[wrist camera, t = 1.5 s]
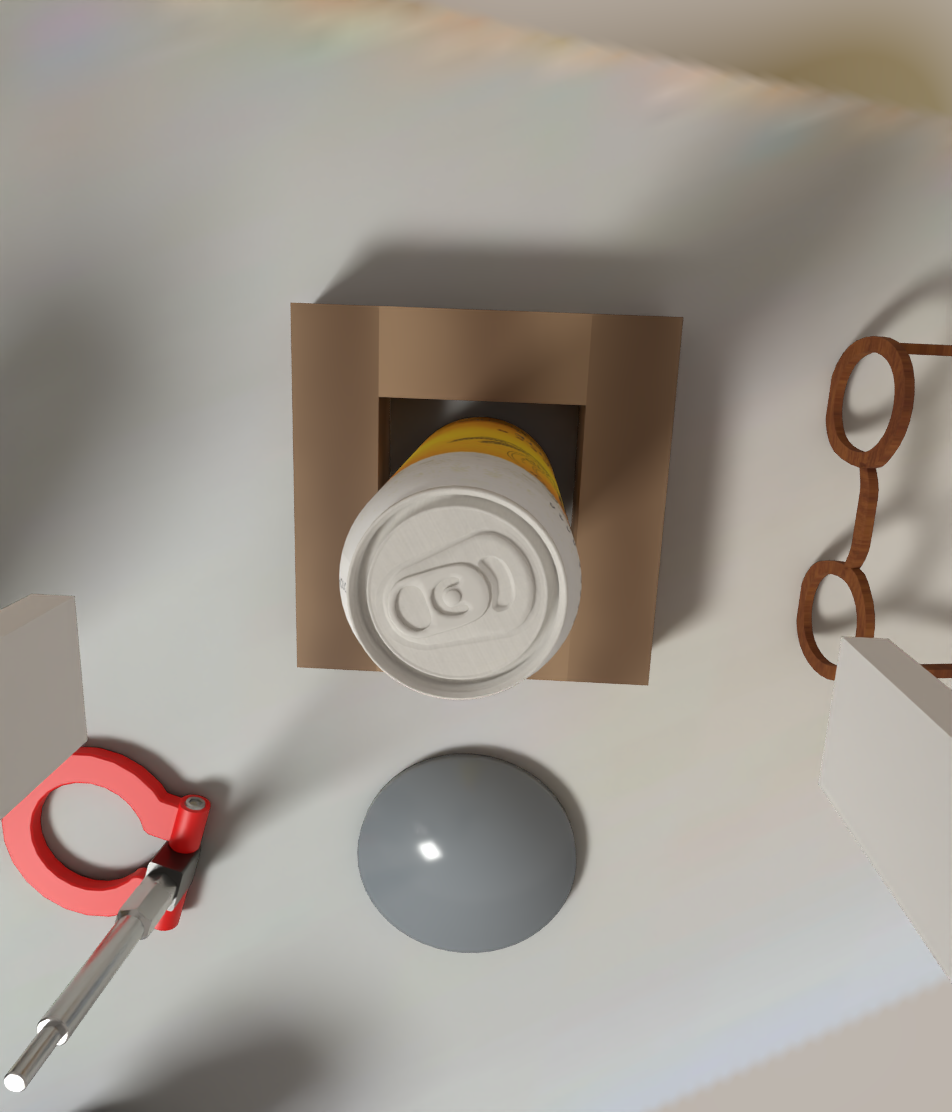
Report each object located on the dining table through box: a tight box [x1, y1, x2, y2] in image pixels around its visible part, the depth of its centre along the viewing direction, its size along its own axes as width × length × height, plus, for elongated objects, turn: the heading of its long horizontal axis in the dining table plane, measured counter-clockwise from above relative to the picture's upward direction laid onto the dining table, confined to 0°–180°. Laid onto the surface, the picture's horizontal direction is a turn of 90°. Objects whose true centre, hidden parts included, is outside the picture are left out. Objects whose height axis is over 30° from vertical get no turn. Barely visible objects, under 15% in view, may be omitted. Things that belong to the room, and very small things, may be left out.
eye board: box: [291, 303, 683, 685], centre depth 33 cm, size 14×14×3 cm
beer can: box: [339, 417, 582, 700], centre depth 27 cm, size 6×6×15 cm
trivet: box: [357, 754, 576, 953], centre depth 38 cm, size 10×10×1 cm
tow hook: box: [2, 747, 211, 1092], centre depth 33 cm, size 8×13×9 cm
